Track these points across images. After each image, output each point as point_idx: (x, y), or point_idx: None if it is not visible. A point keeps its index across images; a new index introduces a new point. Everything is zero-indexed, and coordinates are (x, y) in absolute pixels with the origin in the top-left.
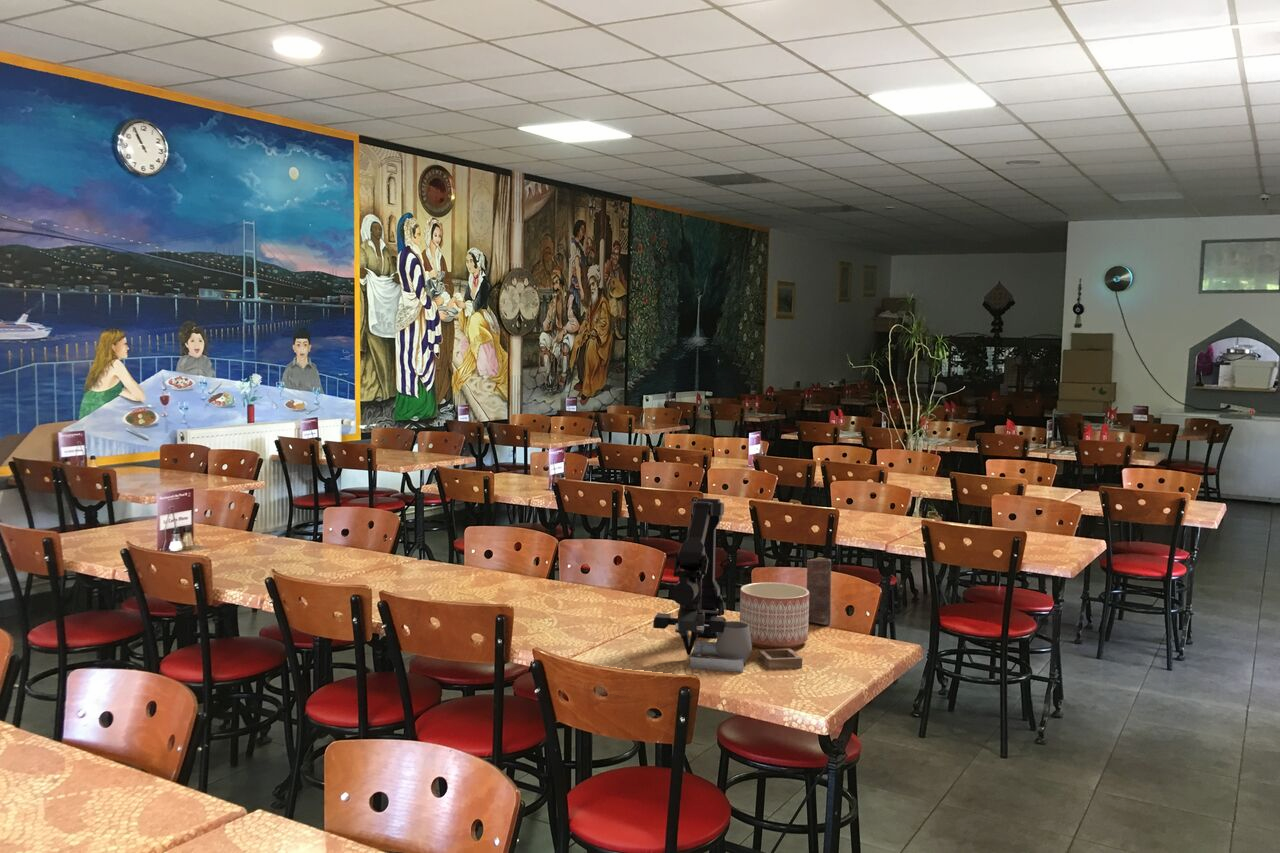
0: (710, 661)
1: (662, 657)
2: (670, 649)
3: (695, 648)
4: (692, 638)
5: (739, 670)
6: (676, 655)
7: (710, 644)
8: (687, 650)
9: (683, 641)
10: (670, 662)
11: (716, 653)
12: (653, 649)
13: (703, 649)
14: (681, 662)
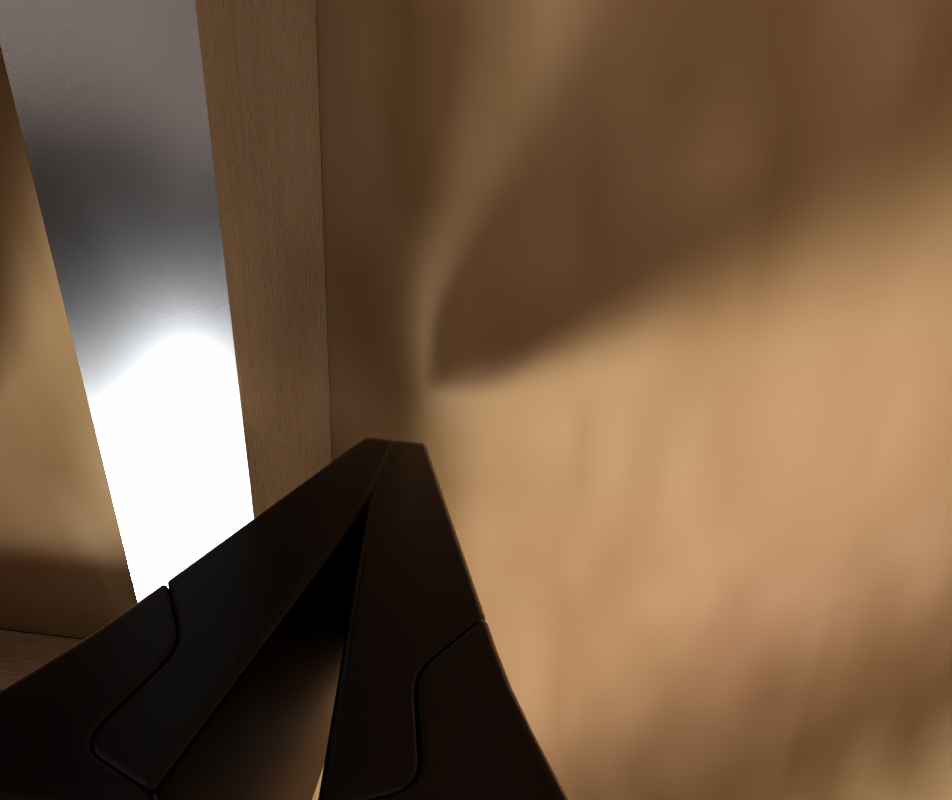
0: None
1: (893, 490)
2: (689, 783)
3: None
4: (92, 751)
5: None
6: (624, 591)
7: None
8: (405, 490)
9: (497, 672)
10: (793, 206)
11: (39, 653)
12: (936, 780)
13: None
14: (548, 236)
